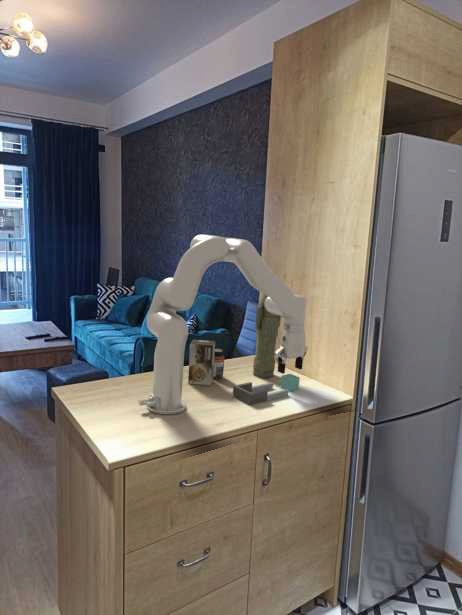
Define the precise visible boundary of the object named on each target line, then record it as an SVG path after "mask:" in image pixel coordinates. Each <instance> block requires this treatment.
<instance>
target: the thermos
mask: <svg viewBox="0 0 462 615" xmlns="http://www.w3.org/2000/svg"><path fill="white" fill-rule="evenodd" d="M267 297H268V296H267V295H265V294H264V293H262V296H261V298H260V303H258V306H257V308H256V317H255V318H256V320H255V330H256V335H257V336H256V346H255V356H254V357H253V362H252V363H253V365H252V368H253V371H252V376H255V377H257V378H260V379H271V378H273V377H274V375H275V374H274V371H275V367H276V356H275V352H276V346H277V345H276V344H277V337H278V335H279V328H280V326H281V318H282V317H281V316H278V315H275V314H272V313H270V312H269V311H267V310H266V308H265V300H266V298H267Z"/></svg>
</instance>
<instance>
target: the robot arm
mask: <svg viewBox="0 0 462 615" xmlns="http://www.w3.org/2000/svg"><path fill="white" fill-rule="evenodd" d="M219 262H229V263H233V264H234V265H236V267H237V268H238V270H240V272H241V274H242V275H243V276H244V278H245V279H246V280H247V282H248V284H249V285H250V286H251V287H253V289H255V290H257V291H258V292H261V293H262V294H263V293H264V294H265V295H267V296H268V297H267V298H266V300H265V308H266V310H267V311H269V312H270V313H272V314H275V315H278V316H281V318H284V320H283V321H284V322H283V323H284V324H283V327H282V328H283V330H282V332H281V338H280V344H279V348H278V349H277V350H275V356H274V357H275V360H276V362H277V363H278V364H277V373H280V374H282V375H285V372H286V361H287V359H295V363H294V368H296V369H298V370H303V364H304V363H303V362H304V360H305V357H306V354H307V351H308V349H309V348H308V346H307V345H306V331H305V322H306V320H305V319H306V311H307V296H305V295H302V294H294V292H293V291H292V290H291V288H290V287H288V285H287V284H286V283H285V282H283V281H282V280H281V279H280V277H278V276H277V275H276V274H275V273H274V272H272V271H271V269H270V268H269V267H268V265H267V264H266V263H265V262H266V261H264V259H263V258H262V257H261V255H260V254H259V252H258V251H257V249H256V248H255V246H254V245H253V244H252V242H251V241H248V240H247V239H242V238H236V237H226V236H225V237H224V236H220V235H219V236H218V235H210V234H198V235H196V236H194V237H193V238H192V240H191V242H190V245H189V249H187V251H185V253H184V254H183V255H182V256H181V258H180V260H179V263H178V264H177V267H176V270H175V272H174V275H173V277H167V278H164V279H163V280H162V281H161V282H160V283H159V284H158V285H157V287H156V289H155V292H154V294H153V298H152V301H151V304H150V306H149V310H148V313H147V315H146V316H147V318H146V326H147V329H148V331H149V332H150V333H151V334H152V335H153V336H155V337H156V338H157V342H156V346H155V350H154V355H153V356H154V357H153V358H154V359H153V361H154V362H153V381H152V393H149V396H148V397H147V398H143V399H139V400H138V406H146V408H147V410H149V411H151V412H152V413H154V414H159V415H175V414H179V413H183V411H184V410H186V406H187V405H186V402H185V401H184V400H182V399H183V398H182V396H183V382H184V381H183V378H184V364H185V363H184V362H185V350H186V345H187V344H186V343H187V340H188V336H189V327H188V324H187V321H186V319H184V318H183V317H182V316H181V315H179V314H178V313H177V311H180V312H183V311H188V310H189V309H191V308H192V306H193V304H195V303H194V302H195V299H196V297H197V294H198V291H199V287H200V284H201V281H202V279H203V276H204V274H205V272H206V270H207V269H208V268H209V267H211V266H212V265H213V264H215V263H219Z"/></svg>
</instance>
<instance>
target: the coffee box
mask: <svg viewBox="0 0 462 615" xmlns="http://www.w3.org/2000/svg"><path fill="white" fill-rule="evenodd" d="M215 349H216V340H215V341H214V340H207V339H206V340H204V339H192V341H191V342H190V344H189V360H188V379H187V384H189V385H190V384H191V385H200V386H209V387H210V386H212V385H213V382H214V379H213V370H214V354H215Z"/></svg>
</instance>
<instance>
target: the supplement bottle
mask: <svg viewBox="0 0 462 615" xmlns="http://www.w3.org/2000/svg"><path fill="white" fill-rule="evenodd" d="M224 369H225V355H223V349H222V348H221V349H220V348H215V354H214V370H213V380H221V379H222V378H224Z"/></svg>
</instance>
